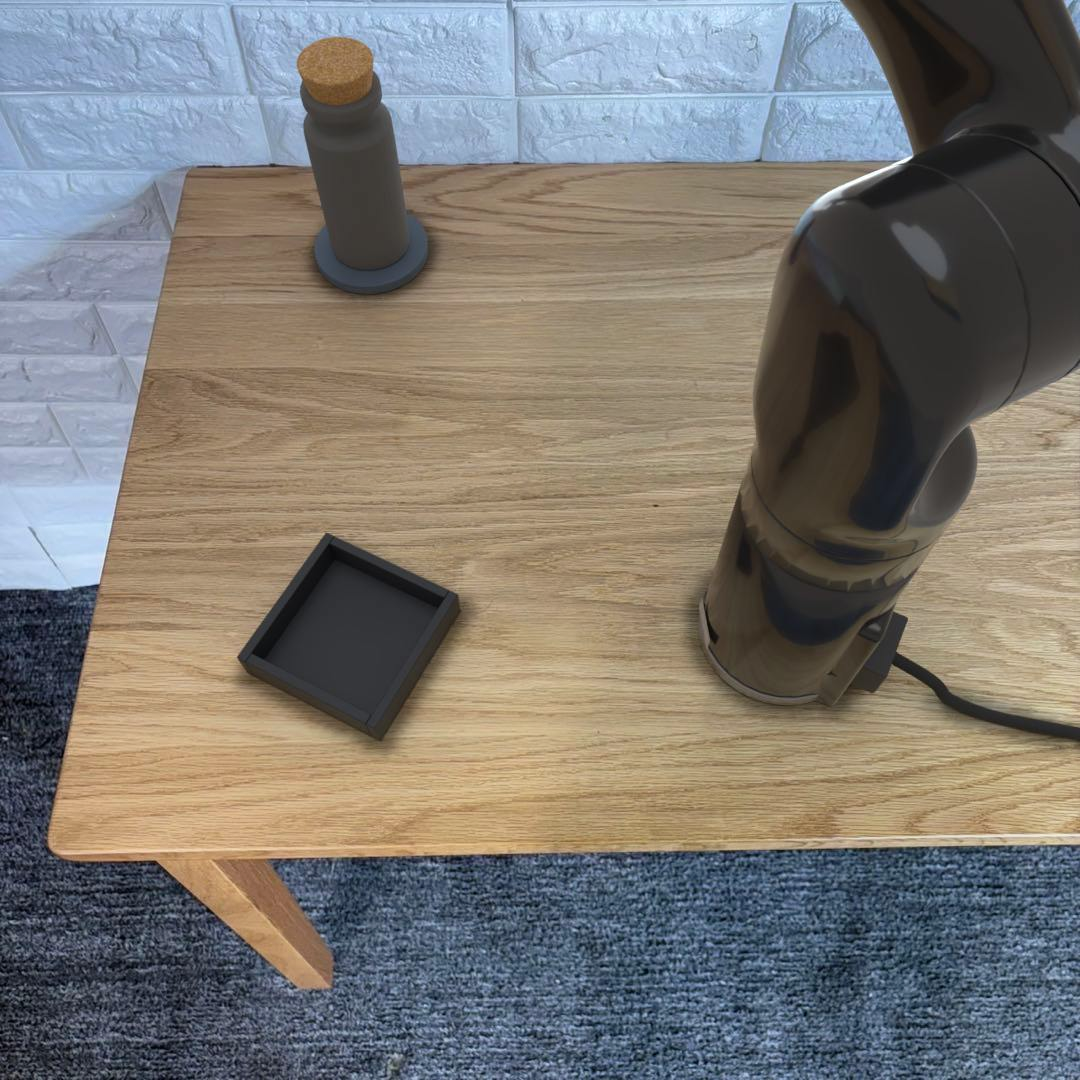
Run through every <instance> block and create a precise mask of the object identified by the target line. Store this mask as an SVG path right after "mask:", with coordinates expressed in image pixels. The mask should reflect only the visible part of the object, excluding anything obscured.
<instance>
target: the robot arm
mask: <svg viewBox="0 0 1080 1080" xmlns="http://www.w3.org/2000/svg"><path fill="white" fill-rule="evenodd" d="M837 1H838V3H839V4H840V5H841V6H842V8H844V10H845V11H846V12H847V14H849V16H850V17H851V18H852V20H853V21H854V23H855V25H856V26H857V27H858V29H859V31H860V32H861V34H862V36H863V37H864V38H865V41H867V43H868V45H869V47H870V49H871V51H872V53H873V54H874V57H875V59H876V61H877V63H878V65H879V67H880V69H881V71H882V74H883V76H884V78H885V80H886V83H887V85H888V88H889V90H890V92H891V95H892V97H893V100H894V102H895V105H896V107H897V110H898V113H899V115H900V118H901V120H902V123H903V124H902V125H903V126H904V129H905V132H906V135H907V138H908V141H909V144H910V147H911V151H912V154H913V155H911V156H908V157H906V158H904V159H901V160H899V161H896V162H894V163H891V164H889V165H887V166H885V167H882V168H880V169H877V170H875V171H872V172H869V173H867V174H865V175H863V176H860V177H858V178H856V179H853V180H851V181H848V182H846V183H843V184H841V185H839V186H836V187H834V188H833V189H831V190H829V191H827V192H826V193H824V194H822V195H821V196H820V197H819V198H817V199H816V200H815V201H813V202H812V203H811V205H810V206H809V207H808V208H807V209H806V210H805V211H804V212H803V214H802V215H801V216H800V218H799V220H798V221H797V222H796V224H795V226H794V227H793V229H792V231H791V233H790V235H789V237H788V239H787V242H786V243H785V246H784V249H783V251H782V254H781V256H780V260H779V264H778V265H777V269H776V273H775V274H776V275H775V278H774V281H773V286H772V287H773V288H772V291H771V296H770V301H769V306H768V310H767V311H768V312H767V317H766V321H765V322H766V323H765V325H764V331H763V336H762V341H761V345H760V350H759V354H758V359H757V364H756V368H755V373H754V380H753V389H752V414H753V423H754V431H755V439H754V442H753V445H752V447H751V450H750V451H751V452H750V453H749V458H748V460H747V464H746V467H745V470H744V473H743V476H742V480H741V483H740V486H739V489H738V492H737V495H736V498H735V502H734V504H733V508H732V510H731V514H730V518H729V520H728V524H727V527H726V530H725V532H724V536H723V540H722V542H721V546H720V549H719V551H718V555H717V558H716V562H715V565H714V568H713V570H712V574H711V576H710V577H711V578H710V581H709V583H708V586H707V588H706V589H705V593H704V595H703V596H702V598H701V599H700V602H699V605H698V609H699V611H698V617H697V632H698V638H699V643H700V646H701V648H702V649H701V650H702V651H703V653H704V655H705V657H706V660H707V661H708V663H709V665H710V666H711V667H712V669H713V670H714V671H715V673H716V674H717V675H718V676H719V677H720V678H721V679H722V680H723V681H724V682H725V683H726V684H728V685H729V686H730V687H732V688H733V689H734V690H736V691H737V692H739V693H741V694H743V695H745V696H746V697H749V698H751V699H753V700H755V701H759V702H761V703H766V704H771V705H778V706H797V705H804V704H807V703H810V702H814V701H815V702H818V703H821V704H824V705H826V706H829V707H835V705H836V704H838V702H839V700H840V698H841V697H842V696H843V694H844V693H845V692H846V690H847V689H848V688H849V686H850V685H852V686H854V687H856V688H858V689H861V690H863V691H865V692H867V693H869V694H873V695H874V694H875V693H876V691H878V690H879V688H880V687H881V685H882V684H883V683H884V682H885V681H886V679H887V678H888V676H889V673H890V670H891V668H892V666H893V667H896V668H897V669H899V670H901V671H903V672H904V673H906V674H908V675H909V676H911V677H913V678H915V679H917V680H918V681H919V682H921V683H922V684H924V685H925V686H927V687H928V688H929V689H931V690H932V691H933V692H934V694H935V695H936V697H937V699H938V700H939V701H940V702H941V704H943V705H945V706H947V707H949V708H951V709H953V710H955V711H957V712H959V713H962V714H964V715H966V716H969V717H972V718H975V719H978V720H980V721H981V720H982V721H985V722H989V723H991V724H995V725H999V726H1003V727H1006V728H1007V727H1008V728H1012V729H1015V730H1022V731H1026V732H1033V733H1037V734H1042V735H1047V736H1053V737H1058V738H1064V739H1067V740H1073V741H1079V742H1080V726H1074V725H1069V724H1065V723H1058V722H1053V721H1047V720H1042V719H1037V718H1032V717H1026V716H1020V715H1017V714H1011V713H1008V712H1003V711H998V710H995V709H991V708H988V707H984V706H982V705H979V704H976V703H974V702H971V701H968V700H966V699H963V698H962V697H960V696H957V695H955V694H953V693H952V692H950V690H949V688H948V687H947V685H946V684H945V683H944V681H942V679H940V678H939V677H938V676H937V675H935V674H934V673H933V672H931V671H930V670H928V669H927V668H925V667H923V666H921V665H920V664H918V663H917V662H915V661H913V660H911V659H910V658H908V657H906V656H904V655H903V654H901V653H899V652H898V648H899V645H900V643H901V640H902V638H903V635H904V632H905V629H906V626H907V624H908V621H909V617H908V616H906V615H903V614H901V613H898V612H897V611H895V608H896V605H897V603H898V600H899V598H900V597H901V595H902V594H903V592H904V591H905V590H906V588H907V587H908V585H909V584H910V582H911V580H912V579H913V578H914V576H915V575H916V573H917V572H918V570H919V569H920V568H921V566H922V565H923V563H924V562H925V560H926V559H927V558H928V556H929V555H930V553H931V551H932V550H933V548H934V547H935V546H936V544H937V543H938V541H939V540H940V539H941V537H942V536H943V534H944V533H945V532H946V530H947V529H948V528H949V527H950V525H951V524H952V522H953V521H954V520H955V518H956V517H957V515H958V514H959V512H960V511H961V509H962V508H963V506H964V505H965V503H966V501H967V499H968V498H969V496H970V493H971V492H972V489H973V486H974V483H975V480H976V477H977V471H978V461H979V460H978V448H977V443H976V439H975V435H974V432H973V429H972V428H971V425H973V424H974V423H977V422H979V421H981V420H982V419H984V418H986V417H989V416H990V415H993V414H994V413H996V412H998V411H1000V410H1002V409H1004V408H1006V407H1008V406H1011V405H1012V404H1015V403H1016V402H1018V401H1020V400H1022V399H1024V398H1027V397H1028V396H1030V395H1032V394H1034V393H1036V392H1039V391H1040V390H1042V389H1044V388H1046V387H1048V386H1049V385H1052V384H1054V383H1057V382H1058V381H1060V380H1061V379H1063V378H1065V377H1067V376H1069V375H1071V374H1072V373H1074V372H1076V371H1078V370H1080V35H1079V32H1078V30H1077V28H1076V26H1075V23H1074V21H1073V19H1072V16H1071V14H1070V12H1069V10H1068V7H1067V4H1066V2H1065V0H837Z"/></svg>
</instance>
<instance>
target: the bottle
mask: <svg viewBox="0 0 1080 1080" xmlns="http://www.w3.org/2000/svg"><path fill="white" fill-rule="evenodd" d="M296 68H297V71H298V73H299V76H300V78H301V83H300V86H299V88H300V89H299V95H300V100H301V104H302V106H303V108H304V110H305V112H306V114H305V116H304V119H303V123H302V129H303V130H302V131H303V136H304V140H305V144H306V149H307V153H308V157H309V161H310V165H311V169H312V173H313V176H314V182H315V186H316V189H317V190H316V191H317V193H318V194H317V195H318V198H319V202H320V206H321V211H322V214H323V218H324V222H325V225H326V227H327V231H328V234H329V238H330V242H331V246H332V249H333V251H334V254H335V256H336V257H337V258H338V260H340V261H341V262H342V263H343V264H345V265H347V266H349V267H351V268H354V269H358V270H377V269H381V268H385V267H388V266H390V265H392V264H394V263H395V262H397V261H398V260H399V259H400V258H402V256H403V255H404V254H405V253H406V251H407V249H408V246H409V242H410V238H409V228H408V221H407V214H406V212H407V207H406V201H405V193H404V187H403V182H402V181H403V180H402V174H401V167H400V162H399V156H398V155H399V153H398V149H397V141H396V136H395V135H396V134H395V131H394V124H393V119H392V115H391V112H390V110H389V109H388V107H387V105H385V104H384V103H383V102H382V99H383V89H382V83H381V80H380V77H379V75H378V74H377V73H376V72H375V71H374V55H373V52H372V50H371V49H370V47H369V46H368V45H366V43H364V42H362V41H360V40H358V39H355V38H352V37H347V36H330V37H325V38H320V39H318V40H316V41H314V42H312V43H310V44H308V45H307V46H305V48H303V49H302V50H301V51H300V52H299V54H298V56H297V59H296Z"/></svg>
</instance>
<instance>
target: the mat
mask: <svg viewBox="0 0 1080 1080" xmlns="http://www.w3.org/2000/svg"><path fill="white" fill-rule="evenodd" d="M406 214H407V221H408V228H409V238H410V242H409V246H408V249H407V251H406V253H405V254H404V255H403V256H402V258H400V259H399V260H398V261H397V262H395V263H394V264H392V265H390V266H388V267H385V268H381V269H377V270H358V269H354V268H351V267H349V266H347V265H345V264H343V263H342V262H341V261H340V260H338V258H337V257H336V256H335V254H334V251H333V249H332V246H331V242H330V238H329V234H328V231H327V227H326V224H324V225H323V227H322V228H321V229H320V231H319V232H318V233H317V234H318V235H317V236H316V239H315V241H314V247H313V249H314V258H315V261H316V265H317V268H318V270H319V272H320V274H321V275H322V276H323V278H324V279H325V280H326V281H328V282H329V283H330V284H331V285H333V286H334V287H336V288H338V289H341V290H343V291H346V292H349V293H354V294H360V295H373V294H375V295H377V294H381V293H382V294H383V293H387V292H391V291H394V290H396V289H398V288H401V287H403V286H405V285H407V284H408V283H409V282H411V281H412V280H413V279H415V278H416V277H417V276H418V275H419V274H420V273H421V272H422V269H424V267H425V264H426V262H427V260H428V256H429V243H428V235H427V233H426V230H425V228H424V227H423V225H422V224H421V222H420V221H419V220H418V219H417V218H416V217H414V216H413V215H412V214H410V213H409V212H407V211H406Z"/></svg>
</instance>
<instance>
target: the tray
mask: <svg viewBox="0 0 1080 1080" xmlns="http://www.w3.org/2000/svg"><path fill="white" fill-rule="evenodd" d="M461 612H462V609H461V604H460V598H459V594H458V593H456V592H454V591H452V590H449V589H447V588H445V587H444V586H441V585H440V584H437V583H435V582H433V581H431V580H428V579H426V578H424V577H423V576H420V575H418V574H416V573H414V572H412V571H410V570H408V569H405V568H403V567H401V566H399V565H397V564H395V563H393V562H390V561H389V560H386V559H384V558H382V557H380V556H377V555H375V554H373V553H371V552H369V551H368V550H365V549H362V548H360V547H358V546H356V545H354V544H353V543H350V542H348V541H346V540H343V539H342V538H339V537H337V536H335V535H333V534H331V533H329V532H325V533H324V535H323V536H322V537H321V539H320V540H319V541H318V543H317V545H316V546H315V547H314V548H313V550H312V551H311V553H310V554H309V556H308V557H307V558H306V560H305V561H304V562H303V564H302V565H301V567H300V568H299V569H298V571H297V572H296V574H295V575H294V577H292V579H291V580H290V582H289V584H287V586H286V588H285V589H284V590H283V592H282V593H281V594H280V596H279V597H278V599H277V600H276V602H275V603H274V604H273V606H272V607H271V608H270V610H269V611H268V613H267V614H266V615H265V616H264V618H263V620H262V621H261V622H260V624H259V625H258V626H257V628H256V629H255V631H254V632H253V634H252V635H251V637H250V638H249V639H248V641H246V644H245V645H243V648H242V649H241V650H240V652H239V653H238V654H237V656H236V659H237V660H238V662H240V664H241V666H242V668H243V669H244V670H245V672H246V674H249V675H251V676H253V677H254V678H257V679H258V680H260V681H262V682H264V683H266V684H268V685H270V686H272V687H274V688H276V690H279V691H281V692H283V693H284V694H287V695H288V696H291V697H293V698H295V699H297V700H299V701H300V702H303V703H304V704H307V705H308V706H310V707H312V708H314V709H316V710H318V711H320V712H322V713H324V714H326V715H327V716H330V717H331V718H333V719H336V720H337V721H338V722H339V721H340V722H341V723H343V724H345V725H347V726H348V727H351V728H353V729H354V730H356V731H358V732H360V733H362V734H364V735H366V736H368V737H370V738H372V739H374V740H376V741H378V742H380V743H382V741H383V739H384V738H385V737H386V735H387V733H388V731H389V730H390V728H391V726H392V725H393V724H394V722H395V720H396V718H397V717H398V715H399V713H400V711H401V710H402V708H403V707H404V705H405V703H406V702H407V700H408V698H409V697H410V696H411V693H413V690H414V689H415V687H416V685H417V684H418V682H419V681H420V680H421V677H422V676H423V675H424V672H425V671H426V669H427V667H428V666H429V664H430V663H431V661H432V660H433V658H434V656H435V655H436V653H437V651H438V649H439V648H440V646H441V645H442V643H443V641H444V640H445V638H446V636H447V635H448V633H449V632H450V630H451V628H452V627H453V625H454V623H455V622H456V620H457V618H458V617H459V615H460V614H461Z"/></svg>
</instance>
